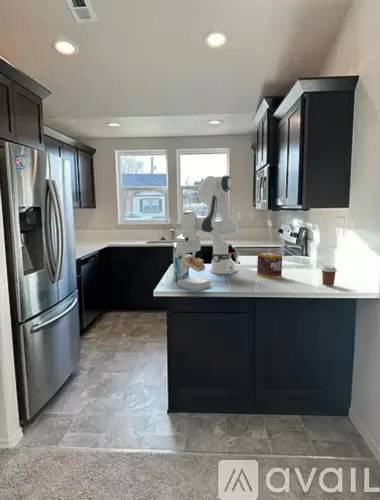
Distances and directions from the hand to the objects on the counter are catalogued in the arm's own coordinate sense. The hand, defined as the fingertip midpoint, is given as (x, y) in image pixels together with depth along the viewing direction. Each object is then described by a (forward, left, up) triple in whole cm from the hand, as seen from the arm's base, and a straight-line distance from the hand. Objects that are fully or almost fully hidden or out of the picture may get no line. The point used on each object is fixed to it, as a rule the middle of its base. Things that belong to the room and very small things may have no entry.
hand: (188, 259), depth 218 cm
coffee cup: (-54, +68, -17) cm, 88 cm away
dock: (0, +4, -17) cm, 17 cm away
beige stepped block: (0, +2, -4) cm, 5 cm away
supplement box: (-58, +26, -17) cm, 66 cm away
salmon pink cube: (0, +6, -3) cm, 7 cm away
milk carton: (-10, -15, -17) cm, 25 cm away
